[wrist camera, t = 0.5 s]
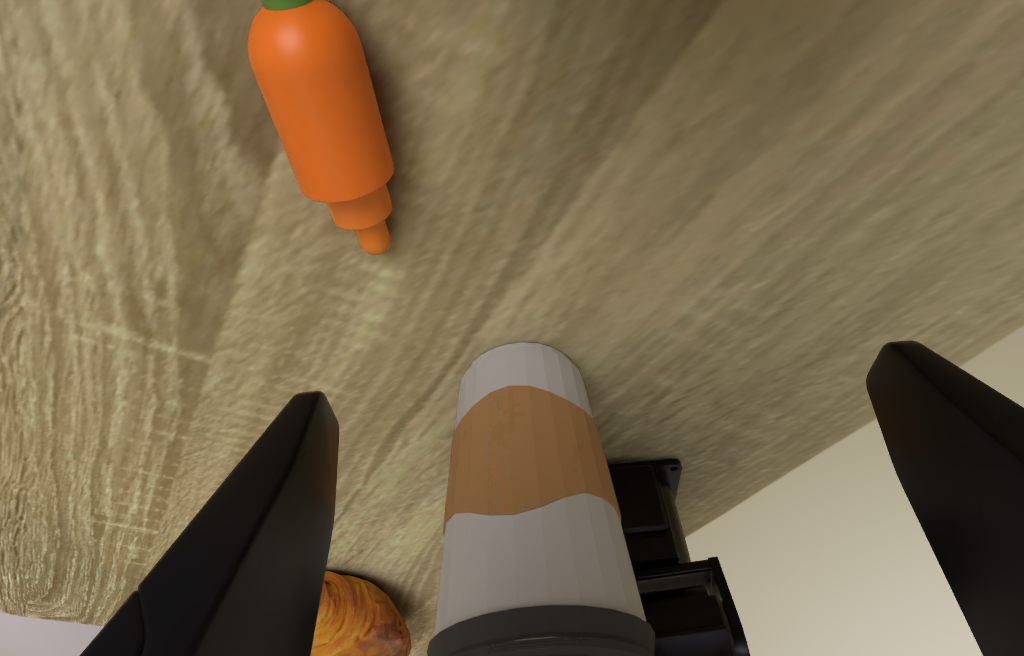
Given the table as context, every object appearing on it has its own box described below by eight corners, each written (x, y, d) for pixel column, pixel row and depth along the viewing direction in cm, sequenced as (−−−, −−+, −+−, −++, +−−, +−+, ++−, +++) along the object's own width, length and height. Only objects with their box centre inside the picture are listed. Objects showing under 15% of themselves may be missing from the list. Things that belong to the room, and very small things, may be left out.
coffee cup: (466, 438, 34) (463, 753, 23) (417, 342, 28) (384, 705, 18) (608, 413, 33) (674, 731, 22) (589, 308, 27) (664, 672, 16)
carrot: (418, 237, 24) (419, 288, 22) (340, 249, 24) (333, 301, 22) (342, -61, 17) (331, -31, 14) (228, -45, 16) (200, -12, 14)
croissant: (397, 535, 47) (387, 637, 40) (423, 630, 56) (418, 725, 50) (214, 551, 46) (174, 657, 40) (271, 644, 56) (246, 742, 49)
